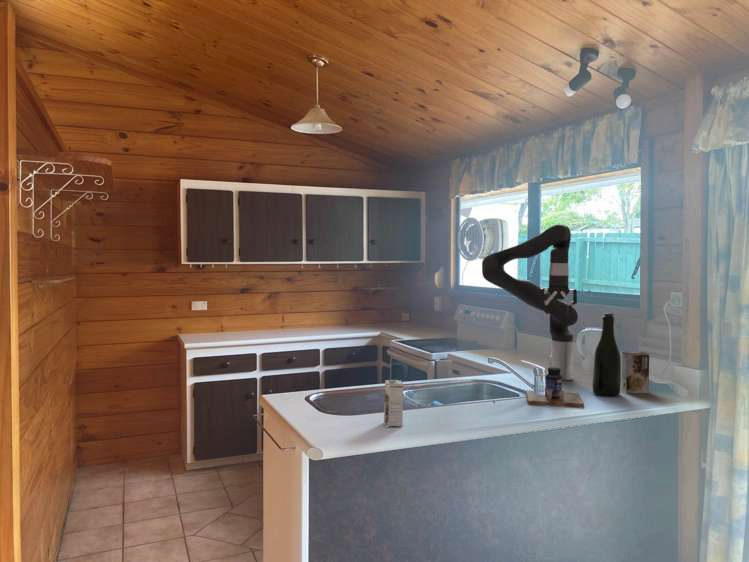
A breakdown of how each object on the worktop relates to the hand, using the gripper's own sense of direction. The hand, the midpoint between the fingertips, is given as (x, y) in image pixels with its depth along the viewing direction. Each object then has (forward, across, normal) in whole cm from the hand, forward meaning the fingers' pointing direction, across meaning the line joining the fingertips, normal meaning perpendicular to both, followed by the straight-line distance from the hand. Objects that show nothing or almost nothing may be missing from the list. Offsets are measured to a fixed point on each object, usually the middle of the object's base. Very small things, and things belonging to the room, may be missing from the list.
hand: (557, 314), depth 239 cm
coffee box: (+32, +32, +9) cm, 46 cm away
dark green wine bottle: (+32, +20, +2) cm, 38 cm away
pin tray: (+32, -2, -13) cm, 35 cm away
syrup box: (+32, -57, -58) cm, 87 cm away
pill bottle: (+31, -2, -13) cm, 34 cm away
